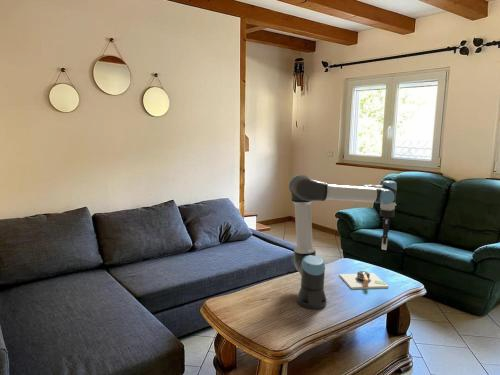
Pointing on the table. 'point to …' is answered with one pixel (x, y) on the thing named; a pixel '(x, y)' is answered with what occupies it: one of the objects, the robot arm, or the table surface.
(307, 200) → the robot arm
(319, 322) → the table surface
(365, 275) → the peg dial
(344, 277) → the board
